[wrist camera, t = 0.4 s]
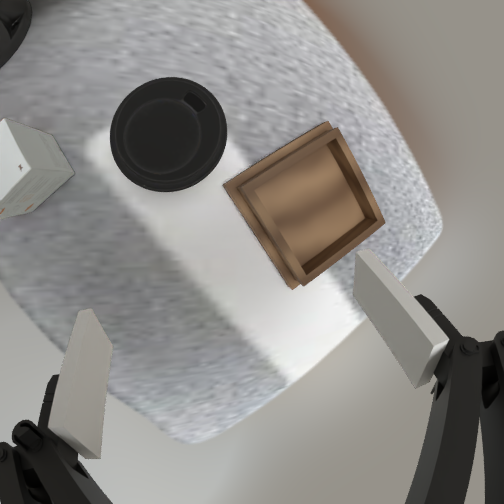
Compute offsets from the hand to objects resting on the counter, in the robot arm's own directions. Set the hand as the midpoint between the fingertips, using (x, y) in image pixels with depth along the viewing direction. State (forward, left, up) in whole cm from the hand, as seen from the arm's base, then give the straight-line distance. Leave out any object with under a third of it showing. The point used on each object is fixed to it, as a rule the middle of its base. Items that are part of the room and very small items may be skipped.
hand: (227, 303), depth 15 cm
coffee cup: (-10, +3, -25) cm, 27 cm away
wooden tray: (+5, +14, -24) cm, 29 cm away
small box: (-18, -12, -25) cm, 33 cm away
